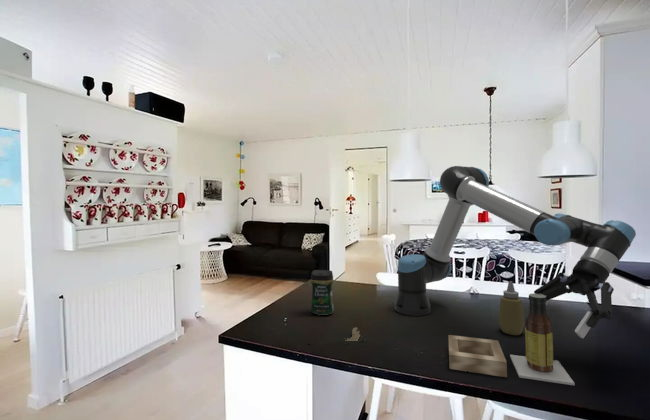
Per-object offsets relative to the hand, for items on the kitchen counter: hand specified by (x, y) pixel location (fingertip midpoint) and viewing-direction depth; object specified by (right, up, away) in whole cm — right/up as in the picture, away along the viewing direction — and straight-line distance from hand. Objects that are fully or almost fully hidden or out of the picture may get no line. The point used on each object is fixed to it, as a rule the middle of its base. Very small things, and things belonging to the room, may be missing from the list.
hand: (553, 325), depth 87 cm
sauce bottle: (-4, -11, 0) cm, 12 cm away
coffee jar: (-64, -13, +48) cm, 81 cm away
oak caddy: (-19, -12, +5) cm, 23 cm away
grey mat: (-4, -12, -1) cm, 13 cm away
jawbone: (-59, -14, +23) cm, 65 cm away
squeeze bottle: (+3, -12, +25) cm, 27 cm away
